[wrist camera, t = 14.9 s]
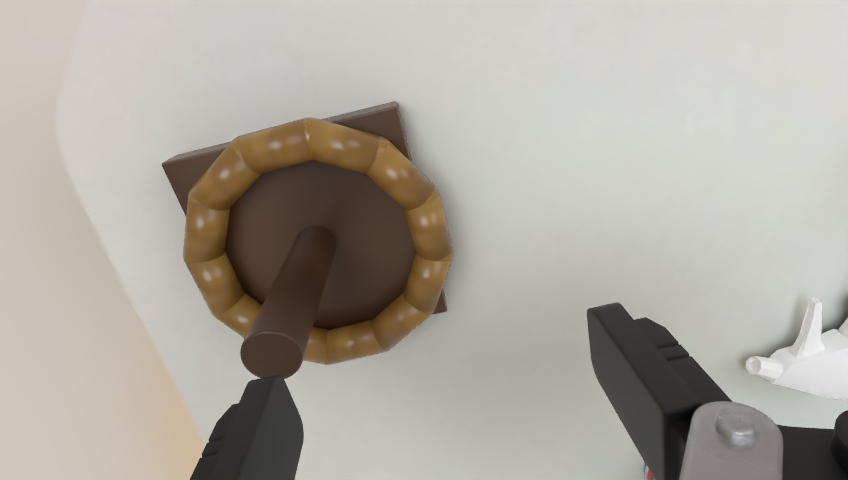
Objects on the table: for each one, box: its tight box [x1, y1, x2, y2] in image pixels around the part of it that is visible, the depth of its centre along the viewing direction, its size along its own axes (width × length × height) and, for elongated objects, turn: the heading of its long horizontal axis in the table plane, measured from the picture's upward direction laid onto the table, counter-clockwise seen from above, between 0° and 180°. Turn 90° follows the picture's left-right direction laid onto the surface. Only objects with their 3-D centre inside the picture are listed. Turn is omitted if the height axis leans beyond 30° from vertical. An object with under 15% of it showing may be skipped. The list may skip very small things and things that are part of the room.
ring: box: [183, 118, 453, 365], centre depth 20 cm, size 11×11×2 cm
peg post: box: [162, 102, 447, 379], centre depth 18 cm, size 10×10×10 cm
